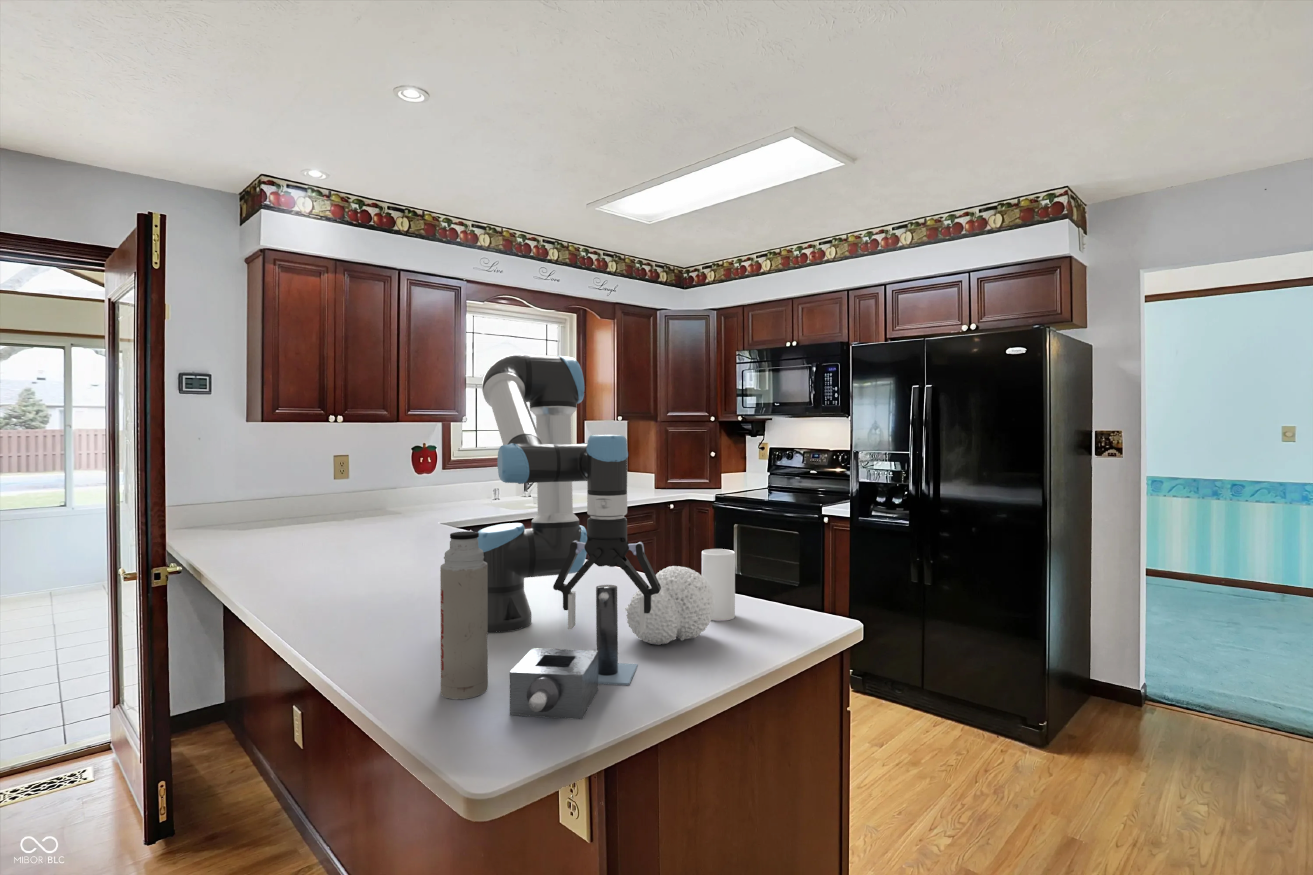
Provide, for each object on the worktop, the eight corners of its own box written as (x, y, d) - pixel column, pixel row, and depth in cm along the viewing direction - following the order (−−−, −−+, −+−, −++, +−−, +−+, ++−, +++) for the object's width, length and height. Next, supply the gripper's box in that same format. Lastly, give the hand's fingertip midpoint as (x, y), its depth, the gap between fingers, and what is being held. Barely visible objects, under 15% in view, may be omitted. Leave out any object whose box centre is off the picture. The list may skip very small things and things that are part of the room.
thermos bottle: (435, 700, 114) (435, 536, 113) (446, 682, 122) (446, 529, 121) (483, 698, 114) (483, 535, 114) (491, 681, 122) (490, 528, 122)
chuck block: (498, 728, 103) (498, 683, 103) (532, 686, 119) (532, 647, 119) (574, 733, 101) (574, 687, 101) (598, 690, 118) (598, 650, 118)
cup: (733, 621, 161) (733, 555, 160) (699, 619, 162) (699, 554, 162) (736, 612, 169) (736, 549, 169) (703, 610, 170) (703, 548, 170)
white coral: (683, 584, 162) (680, 539, 151) (733, 632, 151) (733, 587, 140) (616, 631, 153) (608, 587, 143) (664, 685, 142) (659, 641, 132)
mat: (574, 682, 122) (574, 680, 122) (587, 663, 132) (587, 661, 132) (629, 685, 120) (629, 682, 120) (637, 665, 130) (637, 663, 130)
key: (600, 665, 130) (600, 582, 130) (621, 665, 129) (620, 583, 129) (592, 677, 123) (592, 590, 123) (614, 678, 122) (613, 591, 122)
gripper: (536, 517, 124) (536, 631, 124) (671, 520, 120) (670, 637, 121) (548, 512, 131) (548, 620, 131) (675, 515, 128) (674, 625, 128)
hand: (606, 628), depth 126 cm, fingers open, 13 cm apart
